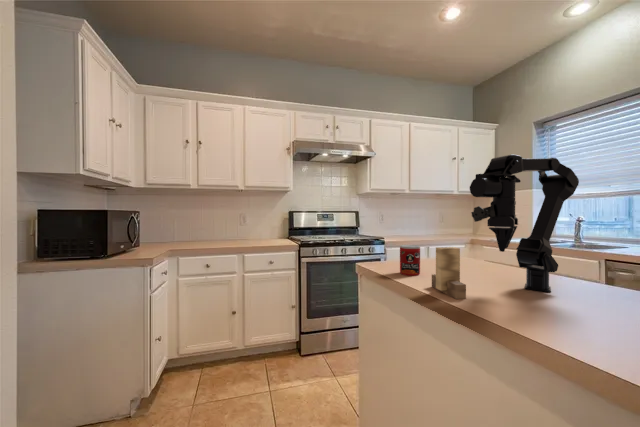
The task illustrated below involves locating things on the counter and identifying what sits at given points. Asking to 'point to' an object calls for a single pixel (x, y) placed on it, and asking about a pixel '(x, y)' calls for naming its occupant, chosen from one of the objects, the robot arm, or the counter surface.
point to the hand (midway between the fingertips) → (503, 249)
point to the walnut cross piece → (452, 288)
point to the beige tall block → (447, 266)
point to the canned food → (410, 260)
